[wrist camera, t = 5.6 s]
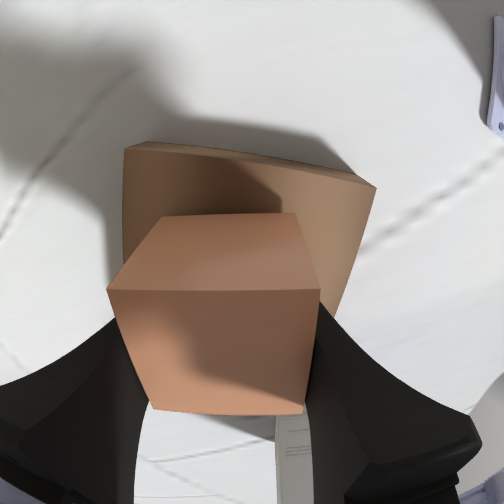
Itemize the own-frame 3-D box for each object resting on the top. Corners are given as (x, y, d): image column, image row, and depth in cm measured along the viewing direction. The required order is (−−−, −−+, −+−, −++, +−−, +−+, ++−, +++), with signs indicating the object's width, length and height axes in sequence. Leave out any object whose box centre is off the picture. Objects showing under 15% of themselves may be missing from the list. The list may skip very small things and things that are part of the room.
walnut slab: (354, 173, 14) (376, 188, 11) (306, 332, 18) (313, 368, 15) (149, 140, 13) (124, 148, 10) (146, 309, 17) (130, 341, 15)
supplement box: (273, 443, 24) (276, 561, 13) (275, 402, 21) (280, 558, 9) (348, 436, 24) (368, 548, 12) (367, 394, 20) (403, 535, 9)
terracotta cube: (295, 212, 11) (320, 288, 6) (290, 320, 13) (302, 413, 9) (162, 216, 11) (105, 288, 7) (180, 320, 13) (153, 409, 9)
